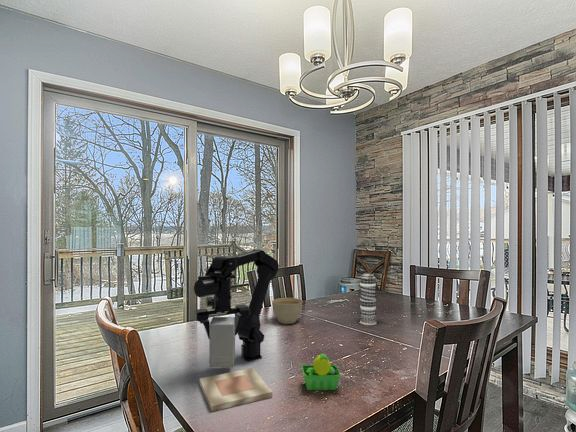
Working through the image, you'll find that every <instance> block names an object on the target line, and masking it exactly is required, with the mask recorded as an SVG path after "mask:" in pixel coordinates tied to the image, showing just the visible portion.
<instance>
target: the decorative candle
mask: <svg viewBox="0 0 576 432" xmlns="http://www.w3.org/2000/svg"><path fill="white" fill-rule="evenodd" d="M359 278H360V282H359V284H358V287H359V288H358V290H359V291H358V292H359V294H360V295H359V296H358V297H359V301H360V305H359V307H360V308H359V314H360V315H359V324H362V325H366V326H374V325H377V324H378V323H377V319H378V318H377V306H376V301H377V297H378V296H377V295H378V293H377V291H378V289H377V287H378V286H377V283H376V276H375V275H374V274H372V273H362V274H361V276H359Z"/></svg>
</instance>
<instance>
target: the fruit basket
mask: <svg viewBox="0 0 576 432" xmlns="http://www.w3.org/2000/svg"><path fill="white" fill-rule="evenodd" d="M301 370H302V375H303V378H304V382H305V387H306V391H328V390H329V391H335V390H337V387H338V383H339V380H340V377H341V373H340V371H339V369H338V366H337V365H336V364H331V362H330V360H329V358H328V356H327V355H326V354H325V353H320V354H319V355H317V356H316V358H314V360H313V361H312V365H311V364H306V365H305V364H304V365H302V366H301Z"/></svg>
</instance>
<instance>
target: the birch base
mask: <svg viewBox="0 0 576 432" xmlns="http://www.w3.org/2000/svg"><path fill="white" fill-rule="evenodd" d="M199 385H200V388H201V390H202V392H203V395H204V398H205V399H206V402H207V405H208V407H209V409H210V411H211V412H215V411H219V410H220V411H221V410H223V409H224V410H225V409H228V408H229V409H230V408H232V407H236V406H241V405H245V404H249V403H252V402H257V401H261V400H262V401H263V400H265V399H266V400H267V399H269V398H272V397H273V390H272V389H271V388H270V387H269V386H268V385H267V383H266V382H265V381H264V380H263V379H262V377H261V376H260V375H259V374H258V373H257V371H256V370H255V369H254V368H253V367H251V368H246V369H240V370H236V371H230V372H225V373H221V374H220V373H219V374H216V375H210V376H205V377H200V378H199Z"/></svg>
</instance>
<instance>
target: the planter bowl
mask: <svg viewBox="0 0 576 432" xmlns="http://www.w3.org/2000/svg"><path fill="white" fill-rule="evenodd" d="M271 303H272V305H271V306H272V310H273V313H274V316H275V317H276V319H277V321H278V323H280V324H284V325H288V324H290V325H291V324H295V323H296V322H297V320H298V318H299V317H300V314H301V313H302V309H303V300H302V299H301V298H295V297H281V298H276V299H272V301H271Z"/></svg>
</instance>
